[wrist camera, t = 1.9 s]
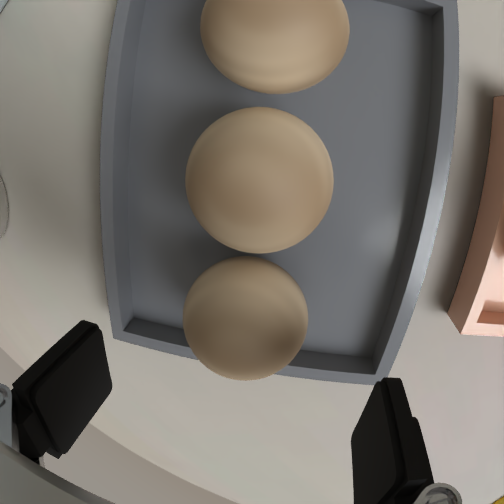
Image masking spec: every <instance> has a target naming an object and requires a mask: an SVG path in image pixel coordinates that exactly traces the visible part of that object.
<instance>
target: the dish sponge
mask: <svg viewBox="0 0 504 504" xmlns="http://www.w3.org/2000/svg"><path fill="white" fill-rule="evenodd" d="M493 504H504V496H503V497H502V498H500V499H499V500H497V501H496V502H494V503H493Z"/></svg>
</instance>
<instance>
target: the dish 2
mask: <svg viewBox="0 0 504 504" xmlns="http://www.w3.org/2000/svg"><path fill="white" fill-rule="evenodd" d="M447 314H448V316H449V317H450V319H451V320H452V322H453V323H454V325H455V326H456V328H457V329H458V331H459V333H460V334H465V335H481V336H500V337H504V96H497V97H494V100H493V116H492V128H491V138H490V146H489V154H488V161H487V168H486V174H485V180H484V185H483V191H482V196H481V201H480V205H479V210H478V214H477V219H476V223H475V227H474V231H473V235H472V239H471V242H470V246H469V250H468V253H467V257H466V260H465V263H464V267H463V270H462V273H461V276H460V279H459V282H458V285H457V288H456V291H455V294H454V297H453V299H452V302H451V305H450V308H449V310H448V313H447Z"/></svg>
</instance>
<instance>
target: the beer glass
mask: <svg viewBox="0 0 504 504" xmlns="http://www.w3.org/2000/svg"><path fill="white" fill-rule="evenodd" d="M7 223H8V200H7V194H6V190H5V186H4V183H3V181H2V178H1V176H0V239H1V238H2V237H3V235H4V233H5V231H6V228H7Z"/></svg>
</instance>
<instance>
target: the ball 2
mask: <svg viewBox="0 0 504 504" xmlns="http://www.w3.org/2000/svg"><path fill="white" fill-rule="evenodd" d="M333 185H334V177H333V168H332V163H331V159H330V157H329V154H328V151H327V149H326V147H325V145H324V143H323V142H322V140H321V139H320V137H319V136H318V135H317V133H316V132H315V131H314V130H313V129H312V128H311V127H310V126H309V125H307V124H306V123H305V122H304V121H302V120H301V119H299V118H298V117H296V116H294V115H292V114H290V113H288V112H285V111H282V110H278V109H274V108H268V107H250V108H244V109H240V110H236V111H233V112H231V113H228V114H226V115H225V116H223V117H221V118H219V119H218V120H216V121H215V122H214V123H212V124H211V125H210V126H209V127H208V128H207V129H206V130H205V131H204V132H203V133H202V134H201V136H200V137H199V138H198V140H197V141H196V143H195V145H194V146H193V148H192V151H191V153H190V156H189V159H188V163H187V167H186V175H185V186H186V194H187V198H188V202H189V205H190V207H191V209H192V212H193V214H194V215H195V217H196V219H197V220H198V222H199V223H200V225H201V226H202V227H203V228H204V229H205V230H206V231H207V232H208V233H209V234H210V235H211V236H212V237H213V238H215V239H216V240H217V241H219V242H221V243H222V244H224V245H226V246H228V247H230V248H233V249H236V250H238V251H242V252H247V253H257V254H259V253H271V252H277V251H280V250H284V249H287V248H289V247H291V246H293V245H295V244H297V243H299V242H300V241H302V240H303V239H305V238H306V237H307V236H308V235H310V234H311V233H312V231H313V230H314V229H315V228H316V227H317V226H318V225H319V223H320V222H321V220H322V219H323V217H324V216H325V214H326V212H327V210H328V207H329V205H330V202H331V198H332V193H333Z"/></svg>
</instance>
